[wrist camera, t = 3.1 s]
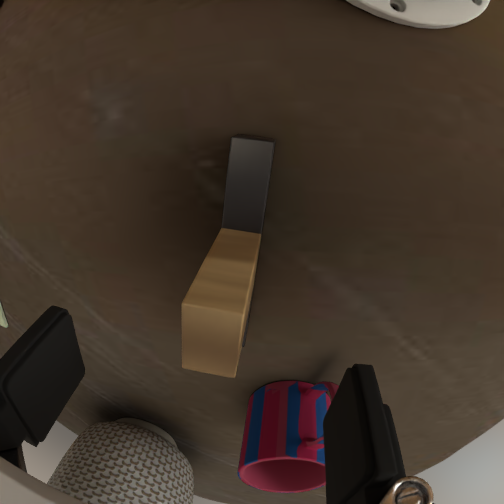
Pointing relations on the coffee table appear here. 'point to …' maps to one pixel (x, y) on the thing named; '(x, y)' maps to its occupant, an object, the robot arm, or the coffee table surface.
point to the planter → (125, 466)
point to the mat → (3, 318)
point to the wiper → (229, 264)
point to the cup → (285, 437)
